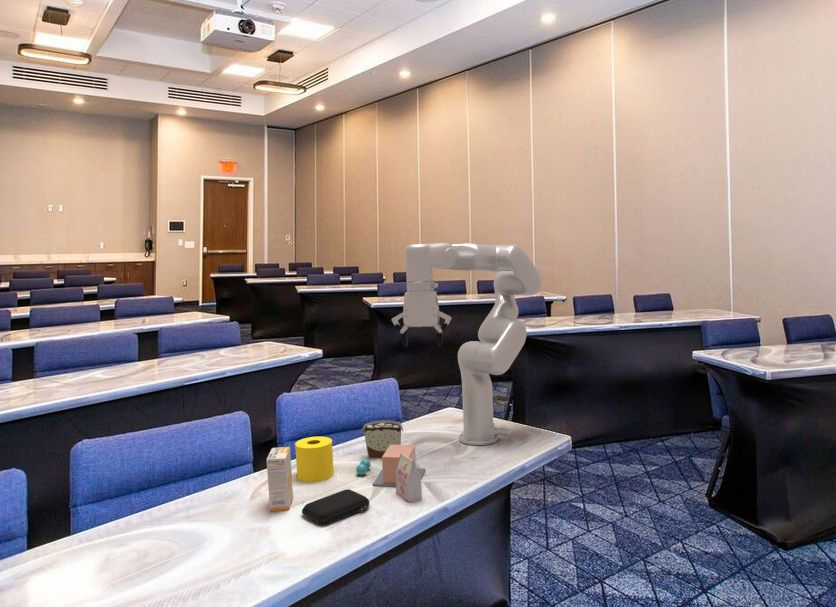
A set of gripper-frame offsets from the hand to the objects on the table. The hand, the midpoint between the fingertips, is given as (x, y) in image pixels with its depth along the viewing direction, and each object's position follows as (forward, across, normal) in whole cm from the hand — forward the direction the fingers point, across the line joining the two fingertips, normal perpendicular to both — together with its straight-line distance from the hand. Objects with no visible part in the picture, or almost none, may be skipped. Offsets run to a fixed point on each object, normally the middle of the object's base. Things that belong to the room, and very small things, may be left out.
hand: (422, 346), depth 171 cm
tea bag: (+34, 0, +27) cm, 43 cm away
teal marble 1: (+33, +16, +10) cm, 38 cm away
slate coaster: (+33, +5, +16) cm, 37 cm away
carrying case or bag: (+34, +16, +37) cm, 53 cm away
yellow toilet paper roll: (+34, +29, +15) cm, 47 cm away
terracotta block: (+33, +5, +16) cm, 37 cm away
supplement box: (+34, +31, +34) cm, 57 cm away
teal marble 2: (+33, +16, +14) cm, 40 cm away
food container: (+34, +13, -2) cm, 36 cm away
